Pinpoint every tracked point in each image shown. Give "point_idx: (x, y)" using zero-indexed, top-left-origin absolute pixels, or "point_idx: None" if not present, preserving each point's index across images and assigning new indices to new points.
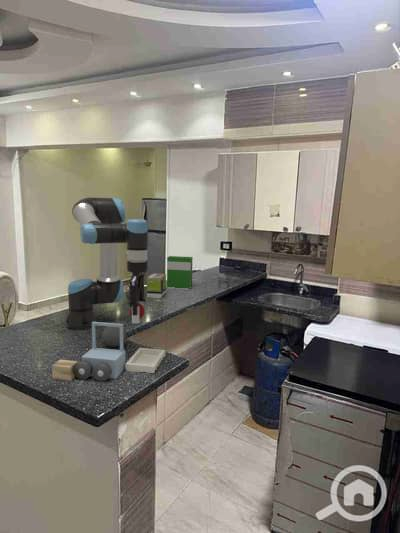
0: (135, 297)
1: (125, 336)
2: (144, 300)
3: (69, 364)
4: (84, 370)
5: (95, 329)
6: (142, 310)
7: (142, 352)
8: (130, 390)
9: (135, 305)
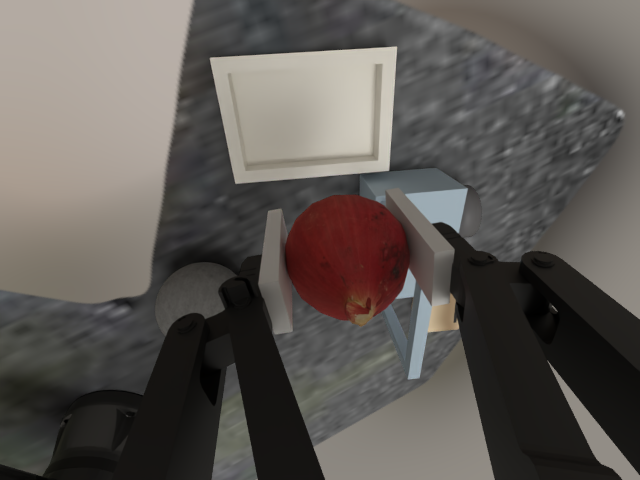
0: (636, 332)
1: (190, 268)
2: (253, 282)
3: (450, 301)
4: None
5: (398, 343)
6: (375, 215)
7: (245, 163)
8: (507, 89)
9: (554, 265)
